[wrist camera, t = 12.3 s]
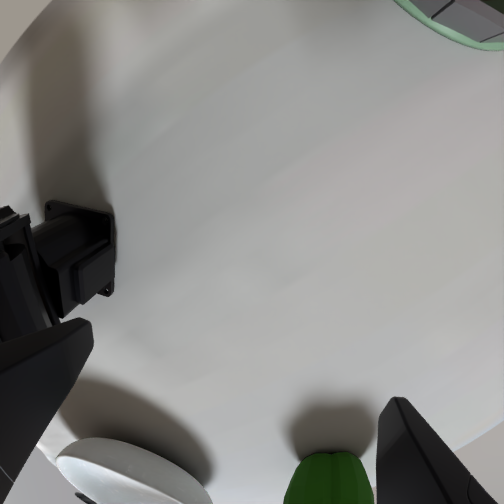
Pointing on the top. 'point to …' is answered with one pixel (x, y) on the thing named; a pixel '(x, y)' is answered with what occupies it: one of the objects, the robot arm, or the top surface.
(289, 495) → the bell pepper
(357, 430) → the top surface
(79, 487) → the serving bowl
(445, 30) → the cup
